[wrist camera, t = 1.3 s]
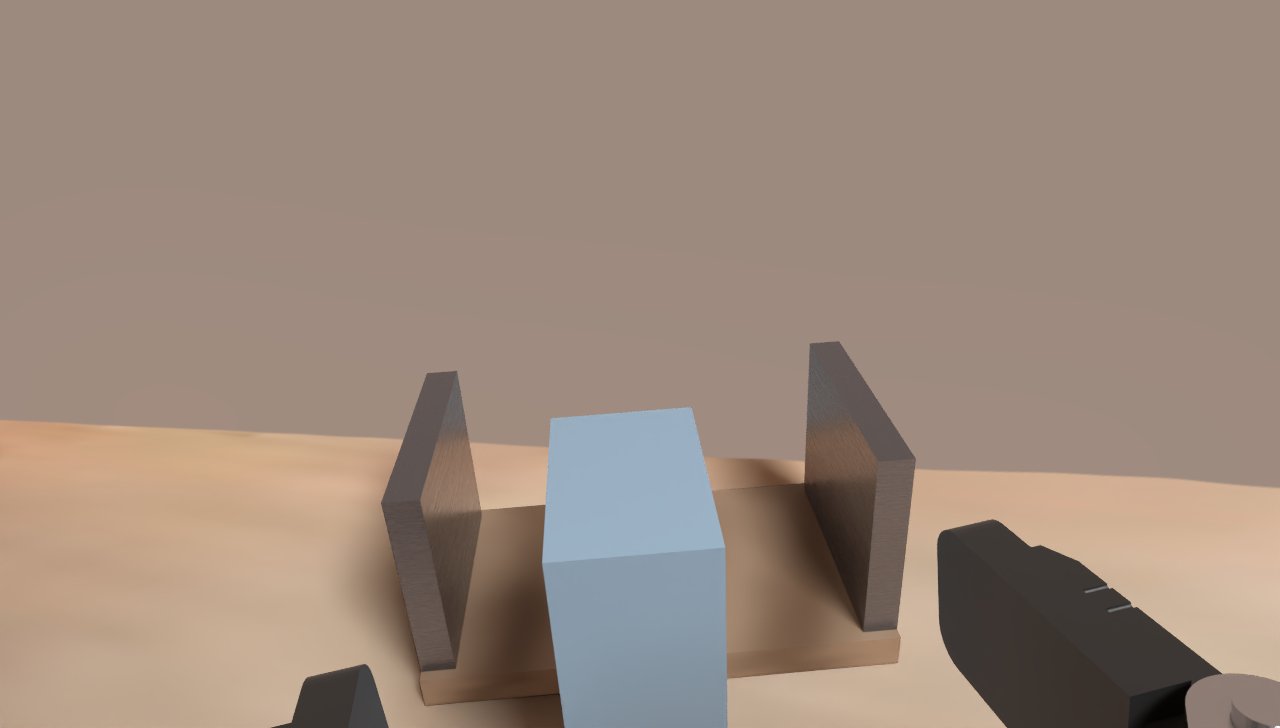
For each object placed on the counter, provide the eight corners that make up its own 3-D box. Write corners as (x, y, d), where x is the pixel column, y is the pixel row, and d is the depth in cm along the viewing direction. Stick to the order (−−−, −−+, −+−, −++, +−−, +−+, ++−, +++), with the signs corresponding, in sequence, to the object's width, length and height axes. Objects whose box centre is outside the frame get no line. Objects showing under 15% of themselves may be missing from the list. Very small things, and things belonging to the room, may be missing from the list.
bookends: (421, 671, 37) (381, 503, 33) (454, 517, 46) (427, 373, 42) (896, 629, 37) (915, 458, 33) (830, 486, 47) (838, 341, 43)
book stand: (425, 705, 37) (419, 680, 36) (459, 533, 48) (455, 512, 47) (897, 662, 37) (900, 637, 37) (827, 502, 48) (828, 481, 48)
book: (594, 944, 28) (542, 563, 20) (591, 759, 34) (550, 418, 27) (729, 930, 28) (725, 547, 21) (702, 749, 34) (691, 407, 27)
